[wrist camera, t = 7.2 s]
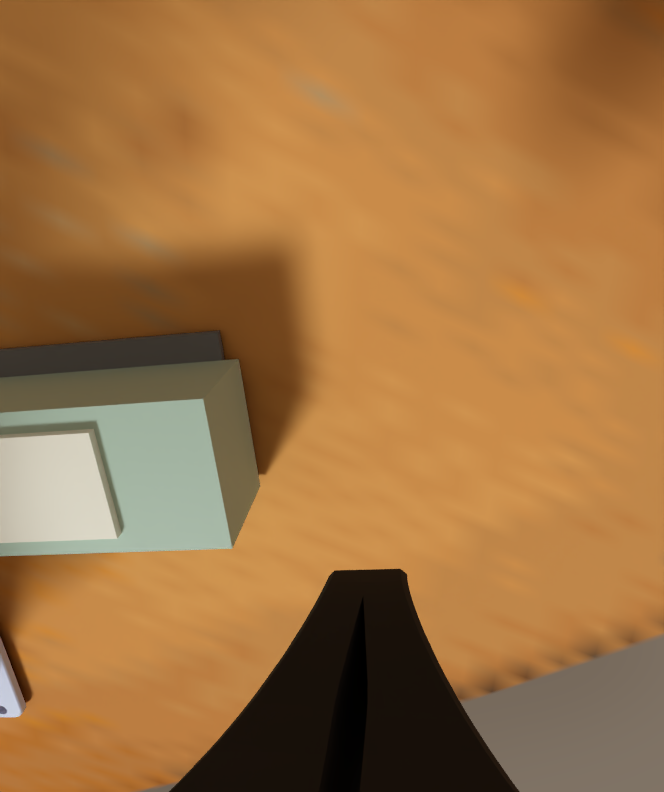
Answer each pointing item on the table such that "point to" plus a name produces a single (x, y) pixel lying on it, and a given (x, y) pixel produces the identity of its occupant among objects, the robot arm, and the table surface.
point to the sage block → (125, 460)
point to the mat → (112, 354)
